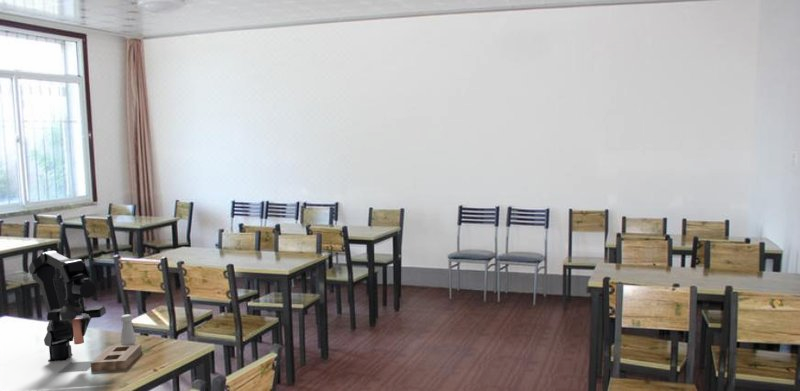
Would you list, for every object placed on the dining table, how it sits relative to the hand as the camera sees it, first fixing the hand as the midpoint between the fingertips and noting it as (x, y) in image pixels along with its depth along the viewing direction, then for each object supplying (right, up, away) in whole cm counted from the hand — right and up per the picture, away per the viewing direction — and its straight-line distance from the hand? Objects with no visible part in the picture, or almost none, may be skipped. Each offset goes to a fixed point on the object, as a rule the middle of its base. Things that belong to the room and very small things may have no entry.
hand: (78, 336), depth 226 cm
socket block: (+12, -11, +5) cm, 17 cm away
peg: (0, -3, 0) cm, 2 cm away
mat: (-1, -12, +1) cm, 12 cm away
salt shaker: (+8, -10, +23) cm, 26 cm away
